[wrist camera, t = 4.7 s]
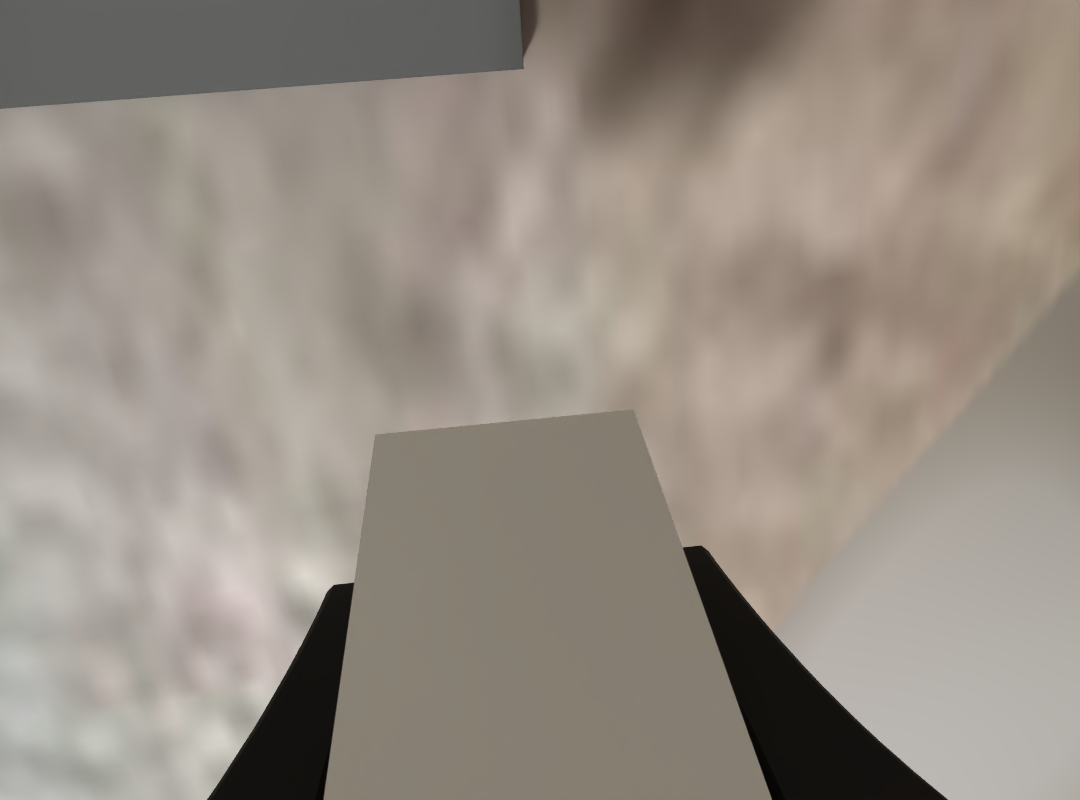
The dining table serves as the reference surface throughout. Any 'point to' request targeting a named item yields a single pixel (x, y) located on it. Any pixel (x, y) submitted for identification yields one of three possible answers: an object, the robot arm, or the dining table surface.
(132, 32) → the socket base
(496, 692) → the plug
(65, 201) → the dining table surface
